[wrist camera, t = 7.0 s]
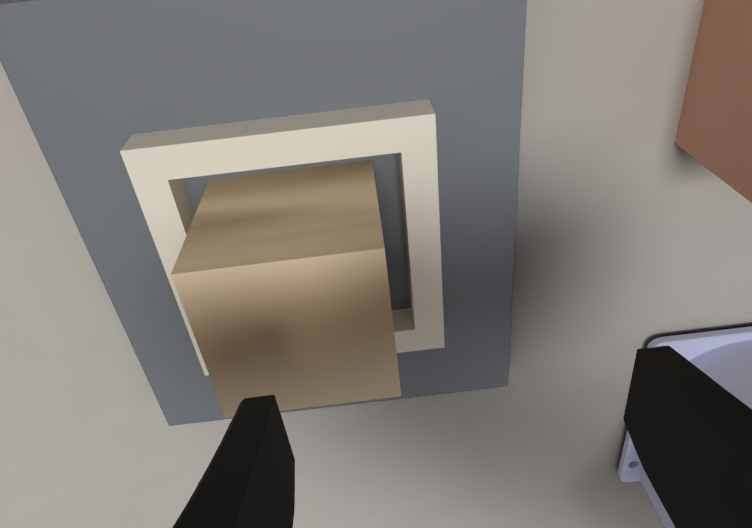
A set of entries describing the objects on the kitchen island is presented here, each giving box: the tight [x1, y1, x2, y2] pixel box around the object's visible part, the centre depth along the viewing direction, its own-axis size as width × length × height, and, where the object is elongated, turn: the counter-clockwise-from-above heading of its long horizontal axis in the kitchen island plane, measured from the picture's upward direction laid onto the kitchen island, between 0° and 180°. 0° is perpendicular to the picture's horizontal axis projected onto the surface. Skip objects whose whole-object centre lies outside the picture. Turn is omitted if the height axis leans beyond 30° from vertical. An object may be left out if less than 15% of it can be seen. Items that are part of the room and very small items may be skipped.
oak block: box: [171, 159, 401, 418], centre depth 17 cm, size 5×5×5 cm
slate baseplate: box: [0, 0, 527, 426], centre depth 19 cm, size 16×14×2 cm
